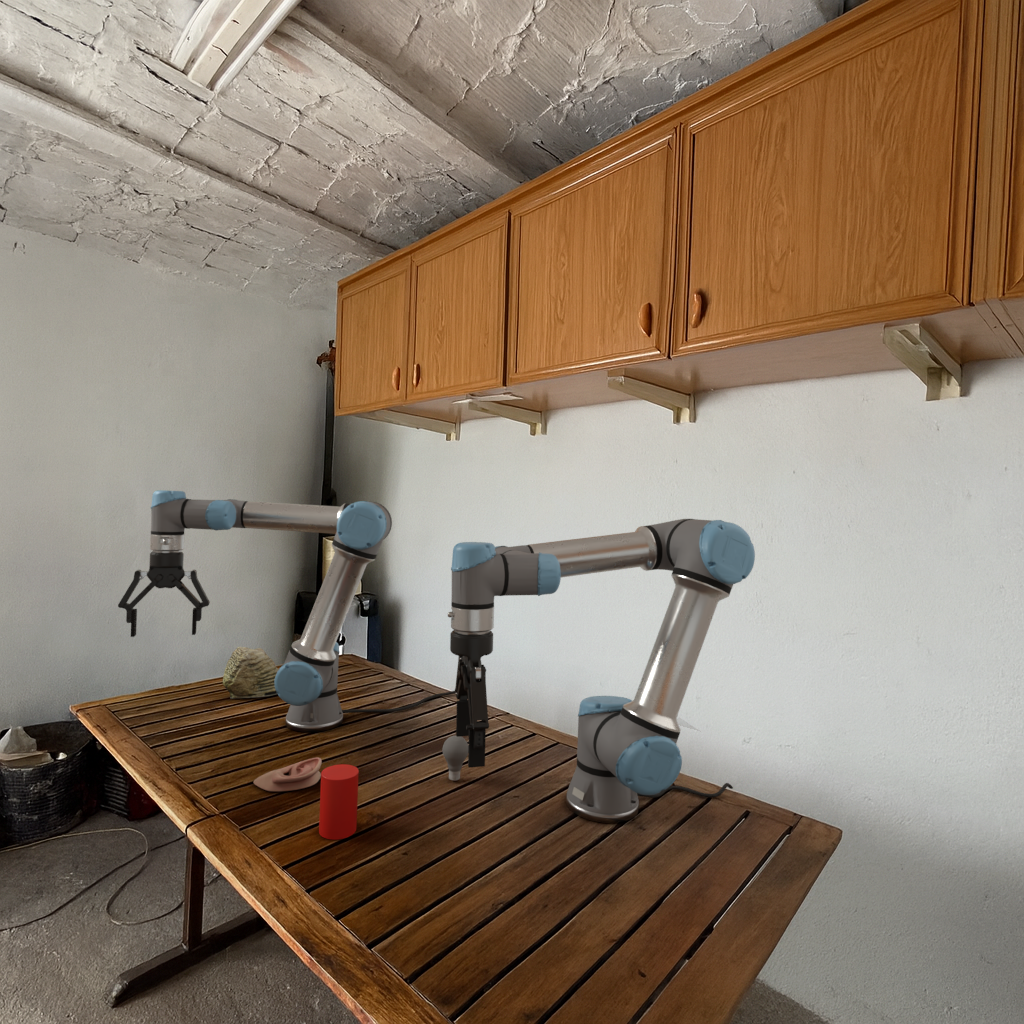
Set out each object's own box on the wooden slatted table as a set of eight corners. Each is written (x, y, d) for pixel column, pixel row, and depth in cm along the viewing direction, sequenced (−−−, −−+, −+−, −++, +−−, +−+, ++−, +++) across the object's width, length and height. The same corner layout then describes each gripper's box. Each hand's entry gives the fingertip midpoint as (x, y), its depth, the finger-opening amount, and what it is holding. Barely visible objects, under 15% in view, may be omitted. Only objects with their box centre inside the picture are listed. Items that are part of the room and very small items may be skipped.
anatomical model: (245, 769, 136) (276, 749, 147) (245, 787, 136) (275, 766, 147) (302, 777, 133) (328, 756, 144) (301, 796, 133) (328, 773, 144)
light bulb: (441, 773, 147) (443, 731, 147) (467, 774, 147) (469, 731, 147) (440, 785, 141) (442, 741, 141) (467, 785, 141) (469, 741, 141)
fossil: (218, 695, 195) (220, 647, 195) (278, 685, 208) (279, 640, 207) (228, 703, 189) (230, 653, 188) (289, 692, 201) (290, 645, 201)
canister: (330, 818, 125) (332, 762, 125) (362, 824, 124) (364, 766, 123) (311, 836, 118) (314, 776, 118) (345, 842, 117) (348, 781, 117)
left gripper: (106, 552, 152) (103, 639, 153) (220, 553, 161) (217, 636, 162) (113, 549, 159) (110, 633, 160) (222, 550, 168) (219, 629, 169)
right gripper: (441, 617, 122) (439, 725, 123) (461, 648, 98) (459, 783, 99) (480, 616, 124) (477, 723, 125) (508, 646, 100) (506, 779, 100)
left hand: (164, 634), depth 161 cm, fingers open, 13 cm apart
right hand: (469, 750), depth 112 cm, fingers open, 13 cm apart
